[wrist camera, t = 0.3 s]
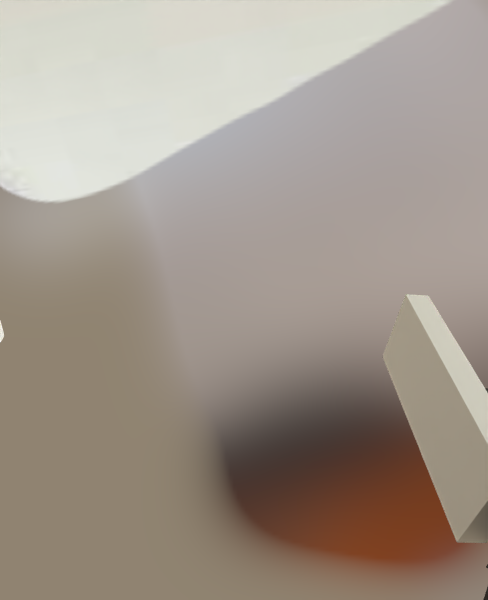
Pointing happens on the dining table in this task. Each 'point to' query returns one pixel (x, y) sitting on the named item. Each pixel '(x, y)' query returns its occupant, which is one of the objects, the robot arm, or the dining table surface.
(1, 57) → the dining table surface
